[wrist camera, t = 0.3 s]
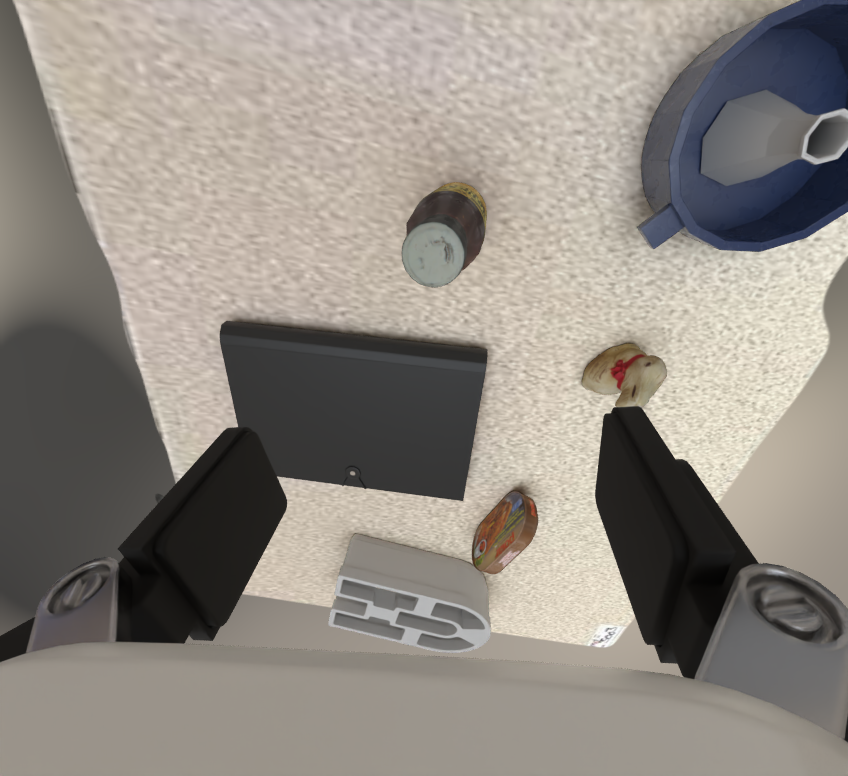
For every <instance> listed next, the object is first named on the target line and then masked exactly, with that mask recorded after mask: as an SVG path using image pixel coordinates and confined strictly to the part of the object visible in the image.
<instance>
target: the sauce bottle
mask: <svg viewBox="0 0 848 776" xmlns="http://www.w3.org/2000/svg"><path fill="white" fill-rule="evenodd" d="M486 218H487V212H486V206H485V202H484V200H483V198H482V197H481V195H480V194H479V193H478V192H477V190H475V189H474V188H473V187H471V186H469V185H467V184H464V183H460V182H453V183H449V184H446V185H444V186H442V187H440V188H438V189H437V190H435V191H434V192H432V193H430V194H429V195H428V196H426V197H425V198H423V199H422V200H421V202H420V203H419V204H418V206H417V207H416V209H415V210H414V212H413V214H412V215H411V217H410V219H409V220H408V222H407V237H406V239H405V241H404V243H403V247H402V261H403V264H404V267H405V270H406V271H407V272H408V274H409V275H410V277H411V278H412V279H413V280H415V281H416V282H417V283H419V284H421V285H424V286H428V287H441V286H444V285H446V284H448V283H450V282H451V281H453V280H454V279H455V278H456V277H457V276H458V275H459V274H460V272H461V271H462V270H464V269H465V268H466V267H467V266H468V265H469V264H470V263H471V262H472V261H473V260H474V259H475V258H476V256H477V255H478V254H479V252H480V250H481V246H482V244H483V241H484V237H485V229H486Z"/></svg>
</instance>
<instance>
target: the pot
mask: <svg viewBox="0 0 848 776" xmlns="http://www.w3.org/2000/svg"><path fill="white" fill-rule="evenodd" d="M763 90H768V91H770V92H771V93H773V94H775V95H777V96H779V97H781V98H783V99H785V100H787V101H789V102H791V103H792V104H794V105H796V106H797V107H799V108H800V109H801V110H802V111H804V112H805V113H807V114H812V115H817V116H818V115H821V114H825V113H828V112H832V111H835V110H839V109H846V110H848V0H800V1H798V2H796V3H794V4H791V5H789V6H787V7H785V8H782V9H780V10H778V11H776V12H773V13H771V14H769V15H767V16H764V17H762V18H760V19H758V20H756V21H754V22H751V23H749V24H747V25H745V26H743V27H741V28H738V29H736V30H734V31H732V32H730V33H728V34H725V35H723V36H722V37H720V38H719V39H718V40H717V41H716V42H715V43H714V44H713V45H711V46H710V47H709V48H708V49H706V50H705V51H704V52H703V53H701V54H700V55H699V56H698V57H697V58H696V59H695V60H694V61H693V62H692V63H691V64H690V65H689V66H688V67H687V68H686V69H685V70H683V71H682V73H680V75H679V77H678V78H677V79H676V81H675V82H674V83H673V85H672V86H671V87H670V89H669V90H668V92H667V93H666V95H665V96H664V98H663V100H662V101H661V103H660V105H659V107H658V109H657V110H656V113H655V114H654V117H653V119H652V122H651V124H650V127H649V130H648V133H647V136H646V139H645V144H644V148H643V154H642V165H641V167H642V182H643V188H644V192H645V197H646V198H647V200H648V202H649V204H650V206H651V208H652V210H653V211H654V212H655V214H653V215H652V216H651V217H649V218H648V219H647V220H645V221H644V222H643V223H641V224H640V225H639V226H637V228H638V230H639V231H640V233H641V234H642V236H643V237H644V239H645V240H646V242H647V244H648V245H649V247H651V248H653V249H655V248H656V247H658V246H659V245H660V244H662V243H663V242H665V241H666V240H667V239H669V238H670V237H672V236H673V235H674V234H676V233H677V232H680V233H682V234H683V235H685V236H687V237H689V238H692V239H694V240H697V241H699V242H702V243H704V244H707V245H709V246H712V247H714V248H717V249H719V250H731V251H752V252H760V251H764V250H768V249H771V248H774V247H777V246H781V245H784V244H787V243H791V242H794V241H797V240H801V239H804V238H807V237H808V236H810V235H811V234H813V233H815V232H816V231H818V230H819V229H821V228H823V227H824V226H826V225H827V224H829V223H831V222H832V221H834V220H835V219H837V218H839V217H840V216H842V215H843V214H845V213H847V212H848V147H847V149H846V150H845V151H844V152H843V153H842V155H841V156H840V157H839V158H838V159H835V160H831V161H828V162H824V163H820V164H815V165H814V164H811V163H809V162H808V161H806V160H804V159H797V160H794V161H792V162H790V163H788V164H786V165H784V166H782V167H780V168H778V169H776V170H774V171H772V172H771V173H769V174H767V175H765V176H763V177H760V178H756V179H752V180H748V181H744V182H741V183H737V184H733V185H729V186H725V185H723V184H721V183H719V182H717V181H715V180H713V179H711V178H709V177H707V176H705V175H703V174H701V159H702V144H703V137H704V136H705V134H706V133H707V131H708V130H709V128H710V127H711V125H712V124H713V122H714V121H715V119H716V118H717V116H718V115H719V113H720V112H721V110H722V109H723V107H724V106H725V104H726V103H727V101H730V100H734V99H737V98H740V97H743V96H747V95H750V94H753V93H756V92H760V91H763Z"/></svg>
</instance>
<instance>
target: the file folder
mask: <svg viewBox="0 0 848 776" xmlns="http://www.w3.org/2000/svg"><path fill="white" fill-rule="evenodd" d="M220 343H221V349H222V354H223V358H224V363H225V367H226V372H227V377H228V381H229V386H230V391H231V395H232V400H233V404H234V409H235V414H236V418H237V423H238V427H249V428H250V429H252V431H253V432H256V433H257V434H258V436H259V438H260V440H261V442H262V445H263V447H264V449H265V451H266V454H267V456H268V458H269V460H270V463H271V465H272V467H273V469H274V472H275V474H276V476H279V477H286V478H294V479H301V480H309V481H316V482H324V483H331V484H339V485H342V486H344V485H347V486H354V487H362V488H364V489H366V488H369V489H377V490H384V491H392V492H399V493H407V494H414V495H422V496H429V497H437V498H445V499H452V500H460V501H463V498H464V492H465V486H466V480H467V475H468V470H469V464H470V458H471V452H472V447H473V441H474V435H475V429H476V423H477V418H478V412H479V406H480V400H481V395H482V389H483V383H484V377H485V371H486V364H487V349H478V348H469V347H460V346H451V345H442V344H433V343H424V342H414V341H405V340H396V339H387V338H378V337H369V336H360V335H351V334H342V333H333V332H323V331H314V330H305V329H296V328H287V327H278V326H269V325H260V324H251V323H242V322H233V321H226V322H224V323H223V324H222V325H221V330H220Z"/></svg>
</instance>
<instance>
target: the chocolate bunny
mask: <svg viewBox="0 0 848 776" xmlns="http://www.w3.org/2000/svg"><path fill="white" fill-rule="evenodd" d="M666 376H667V370H666V366H665V363H664V362H663V360H662V359H660V358H659V357H657V356H653V355H650V356H647V355H646V353H644V352H643V351H642V350H640V348H639V347H638V346H637V345H635V344H629V343H625V344H623V345H620V346H615V347H612V348H609V349H608V350H606V351H605V352H603V353H602V354H601V355H598V356H597V357H596V358H595V359H594V360H592V361H591V362H590V363H589V364H588V366H587V367H586V368H585V371H584V376H583V379H582V386H583V387H584V388H585V389H587V390H591V391H594V392H596V393H599V394H603V395H611V394H617V393H621V395H620V397H619V399H618V400H617V401H616V403H615V406H616V407H630V406H639V407H641V408H642V407H643V406H645V404H647V403H648V402H649V399H650V398H651V396H653V395H654V393H655V392H656V391H657V389H658V388H659V387H660V386H661V384H662V383H663V381H664V379H665V378H666Z"/></svg>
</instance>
